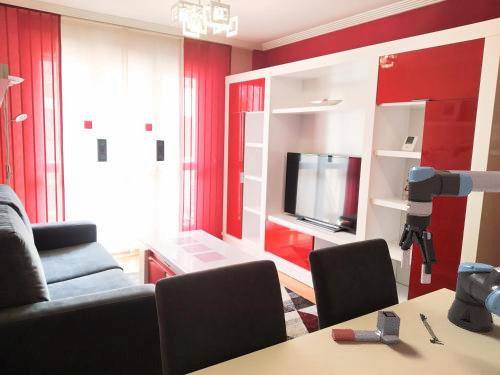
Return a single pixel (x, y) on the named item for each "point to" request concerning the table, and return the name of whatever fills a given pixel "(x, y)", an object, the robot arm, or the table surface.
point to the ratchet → (364, 335)
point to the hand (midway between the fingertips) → (414, 275)
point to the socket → (388, 323)
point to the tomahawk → (429, 330)
